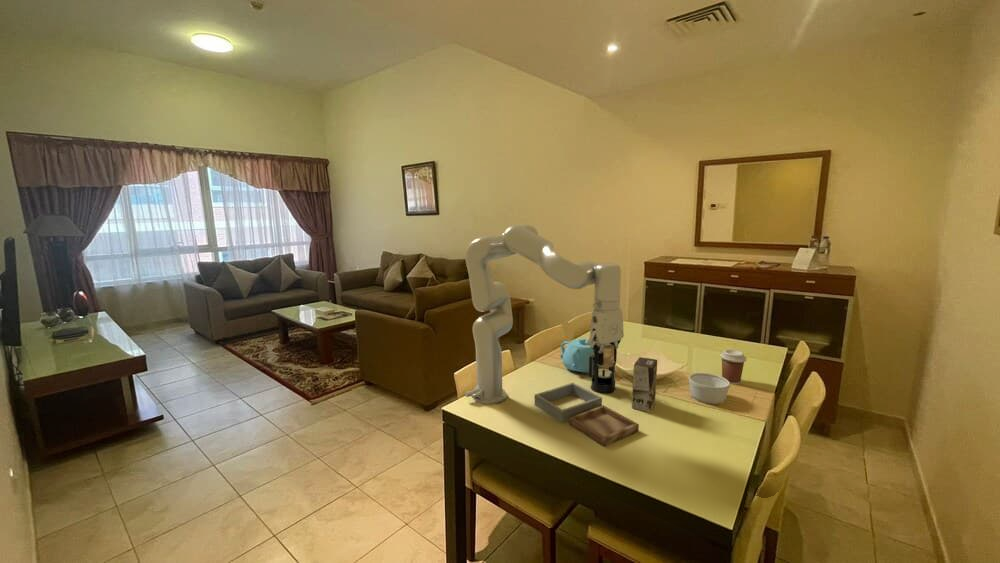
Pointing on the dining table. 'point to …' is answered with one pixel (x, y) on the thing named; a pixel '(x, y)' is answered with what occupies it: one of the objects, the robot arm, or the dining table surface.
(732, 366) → the coffee cup
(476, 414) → the dining table surface
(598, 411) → the walnut tray
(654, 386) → the coffee box
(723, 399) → the ramekin
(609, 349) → the maple spool
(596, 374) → the french press
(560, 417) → the gray square frame
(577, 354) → the decorative pot
